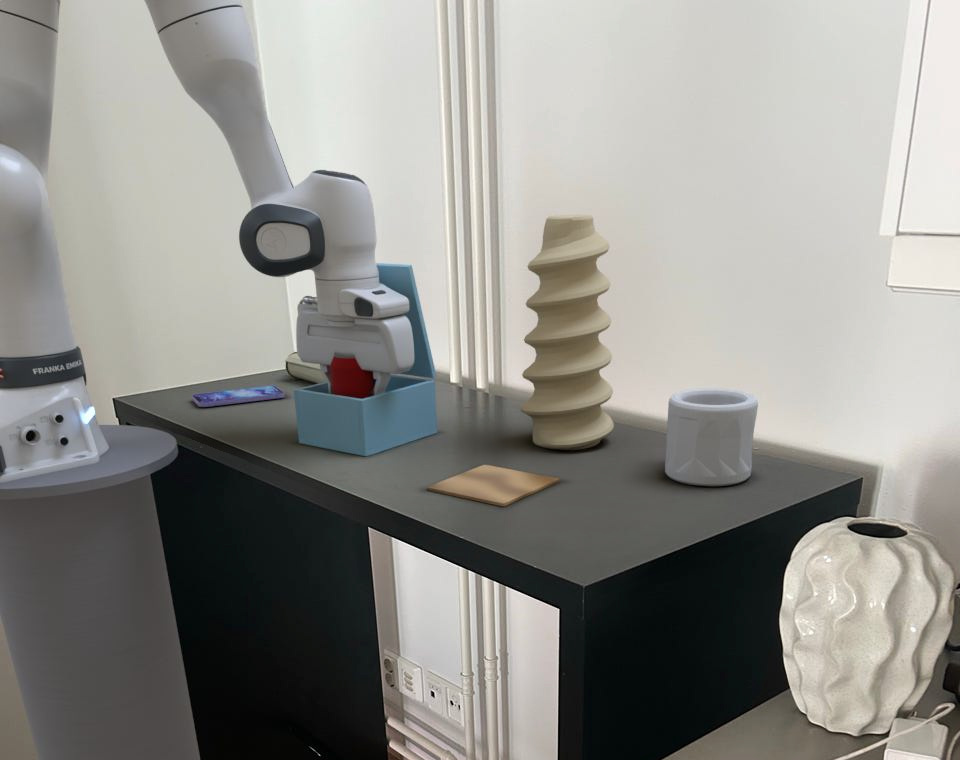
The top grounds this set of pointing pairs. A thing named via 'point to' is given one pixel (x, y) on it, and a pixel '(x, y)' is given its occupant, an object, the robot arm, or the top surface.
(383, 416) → the box
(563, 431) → the decorative object
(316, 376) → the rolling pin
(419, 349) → the lid
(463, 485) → the cork mat
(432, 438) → the top surface
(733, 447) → the mug
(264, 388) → the smartphone
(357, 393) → the beverage can
